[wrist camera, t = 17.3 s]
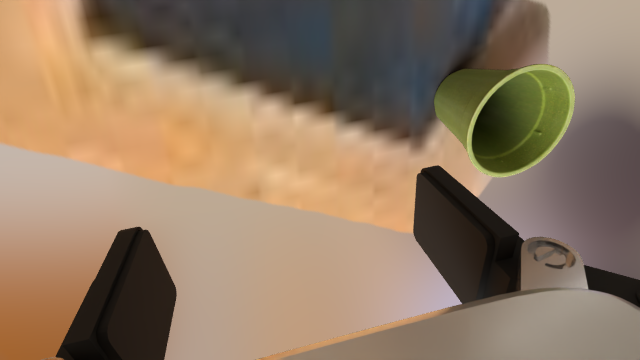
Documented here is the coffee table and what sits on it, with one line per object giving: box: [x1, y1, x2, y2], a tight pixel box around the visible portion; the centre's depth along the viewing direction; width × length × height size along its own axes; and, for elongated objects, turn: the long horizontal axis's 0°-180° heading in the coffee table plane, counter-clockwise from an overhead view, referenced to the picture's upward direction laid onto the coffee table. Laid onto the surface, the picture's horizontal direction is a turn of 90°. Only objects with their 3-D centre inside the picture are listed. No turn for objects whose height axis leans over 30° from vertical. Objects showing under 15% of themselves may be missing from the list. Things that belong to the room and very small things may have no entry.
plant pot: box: [434, 64, 575, 177], centre depth 38 cm, size 12×12×11 cm
